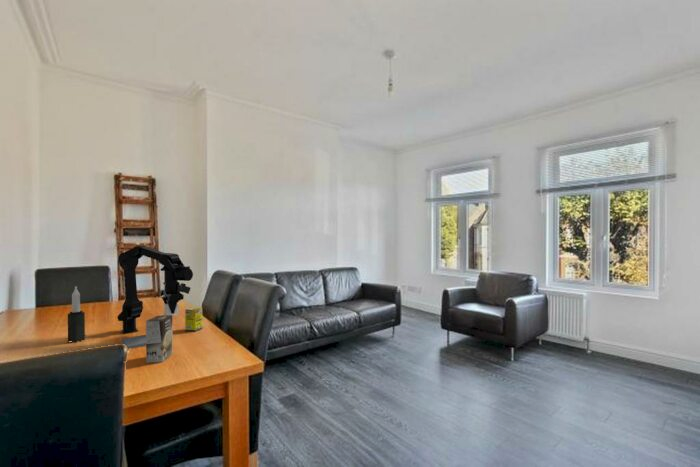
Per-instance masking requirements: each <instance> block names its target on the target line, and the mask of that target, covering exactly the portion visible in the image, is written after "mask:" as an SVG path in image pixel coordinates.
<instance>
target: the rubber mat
mask: <svg viewBox="0 0 700 467" xmlns="http://www.w3.org/2000/svg"><path fill="white" fill-rule="evenodd" d="M120 342H122V343H121V344H122V345H123V344H125V345H126V346H127V348H128V349H127V350H130V349H129V348H131V349H137V348H141V347H146V334H142V335H135V336H131V337H129V336H128V337H124V338H120Z"/></svg>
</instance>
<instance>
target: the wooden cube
mask: <svg viewBox="0 0 700 467" xmlns="http://www.w3.org/2000/svg"><path fill="white" fill-rule="evenodd" d="M163 304H164V305H163V308H164V312H163V314H164V315H172V317H173V316H178V315H179V313H180V312H179V303H177V305H176V309H175V312H174V313H173V314H172V313H171V311H170V308H169V306H168V304H165V303H163Z"/></svg>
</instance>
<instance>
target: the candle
mask: <svg viewBox="0 0 700 467" xmlns="http://www.w3.org/2000/svg"><path fill="white" fill-rule="evenodd" d="M85 319H86V318H85V312H84V311H83V310H81V293H80V292H79V290H78V286H74V290H73V292H72V293H71V311H70V312H69V313H67V342H68V341H72V342H77V341H80V342H82V341H81V340H84V341H85V340H86V330H85V328H86V324H85V321H86V320H85ZM72 342H71V343H72ZM77 343H78V342H77Z"/></svg>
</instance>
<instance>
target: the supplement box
mask: <svg viewBox="0 0 700 467" xmlns="http://www.w3.org/2000/svg"><path fill="white" fill-rule="evenodd" d="M184 311H185V312H184V313H185V314H184V315H185V318H184V322H185V323H184V324H185V326H184V328H185V329H184V330H185V332H195V333H196V332H198V331H200V330H203V307H199V306H198V307H197V306H196V307H195V306H192V307H190V308H187V309H186V308H185V310H184Z"/></svg>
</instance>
